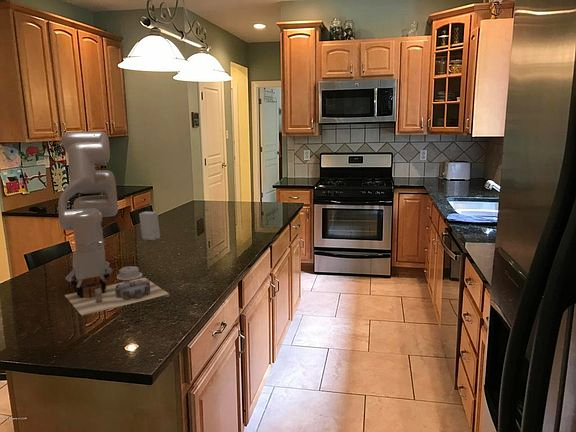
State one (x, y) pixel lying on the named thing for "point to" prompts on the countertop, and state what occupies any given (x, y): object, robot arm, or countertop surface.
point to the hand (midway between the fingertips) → (91, 293)
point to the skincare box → (149, 225)
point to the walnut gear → (90, 289)
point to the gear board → (117, 296)
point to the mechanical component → (129, 273)
